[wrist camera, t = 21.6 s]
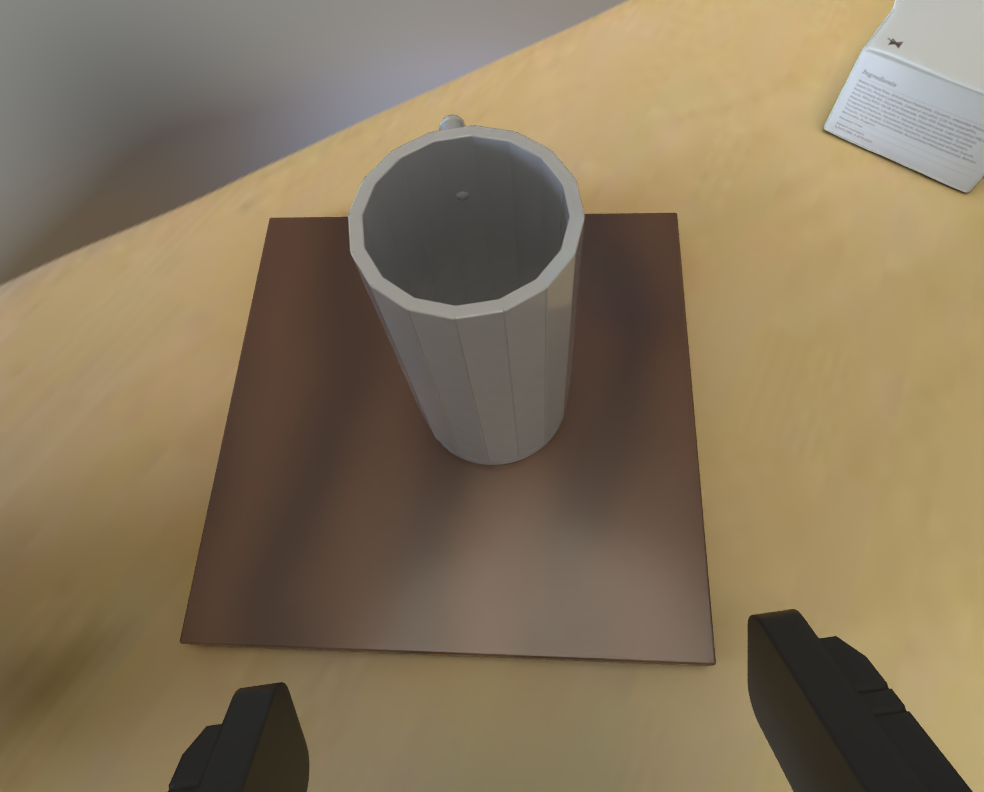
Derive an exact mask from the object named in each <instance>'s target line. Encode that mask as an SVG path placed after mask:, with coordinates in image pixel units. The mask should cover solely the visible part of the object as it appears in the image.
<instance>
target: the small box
mask: <svg viewBox="0 0 984 792" xmlns="http://www.w3.org/2000/svg"><path fill="white" fill-rule="evenodd" d="M824 129H825V130H826V131H828V132H830V133H832V134H834V135H836V136H838V137H841V138H843V139H845V140H847V141H849V142H851V143H854V144H856V145H858V146H861V147H863V148H865V149H867V150H869V151H872V152H874V153H876V154H879V155H881V156H884V157H886V158H888V159H890V160H893V161H895V162H897V163H899V164H901V165H903V166H906V167H908V168H910V169H913V170H915V171H917V172H920V173H922V174H924V175H926V176H928V177H931V178H933V179H935V180H937V181H939V182H941V183H944V184H946V185H948V186H950V187H952V188H955V189H957V190H960V191H962V192H965V193H968V192H970V191H971V190H972V189H973V188H974V187H975V186H976V185H977V184H978V183H979V182H980V181H981V179H982V178H983V177H984V0H895V2H894V7H893V9H892V11H891V12H890V13H889V15H888V16H887V17H886V19H885V20H884V21H883V23H882V24H881V25H880V26H879V28H878V29H877V30H876V32H875V33H874V34H873V36H872V37H871V38H870V40H869V41H868V43H867V44H866V45H865V46H864V48H863V50H862V51H861V53H860V55H859V57H858V59H857V61H856V63H855V65H854V67H853V69H852V71H851V73H850V75H849V77H848V79H847V81H846V83H845V85H844V87H843V89H842V91H841V93H840V95H839V97H838V99H837V101H836V103H835V105H834V107H833V109H832V111H831V113H830V115H829V117H828V119H827V121H826V123H825V125H824Z"/></svg>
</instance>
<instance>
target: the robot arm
mask: <svg viewBox="0 0 984 792" xmlns="http://www.w3.org/2000/svg"><path fill="white" fill-rule="evenodd" d="M748 690H749V696H750V700H751V704H752V707H753V711H754V713H755V716H756V719H757V721H758V723H759V725H760V727H761V729H762V731H763V733H764V735H765V737H766V739H767V741H768V743H769V745H770V747H771V748H772V750H773V752H774V754H775V756H776V758H777V760H778V762H779V764H780V766H781V768H782V770H783V772H784V774H785V776H786V778H787V780H788V782H789V783H790V785H791V787H792V789H793V791H794V792H972V790H971V789H970V788H969V787H968V785H967V784H966V783H965V781H964V780H963V779H962V778H961V776H960V775H959V774H958V773H957V771H956V770H955V769H954V767H953V766H952V765H951V764H950V762H949V761H948V760H947V759H946V757H945V756H944V755H943V754H942V752H941V751H940V750H939V748H938V747H937V746H936V745H935V743H934V742H933V741H932V740H931V738H930V737H929V736H928V735H927V733H926V732H925V731H924V729H923V728H922V727H921V726H920V724H919V723H918V722H917V721H916V719H915V718H914V717H913V715H912V714H911V713H910V712H909V711H908V712H907V711H906V709H905V705H904V704H903V703H902V702H901V700H900V699H899V698H898V696H897V695H896V694H895V693H894V691H893V690H892V689H889V688H888V685H887V682H886V681H885V680H884V679H883V677H882V676H881V675H880V674H879V672H878V671H877V670H876V669H875V667H874V666H873V665H872V663H871V662H870V661H869V660H868V658H867V657H866V656H864V655H863V654H861V653H860V652H858V651H857V650H856V649H854V648H853V647H851V646H850V645H848V644H847V643H845V642H844V641H842V640H841V639H840V638H838V637H837V636H834V637H827V638H820V639H819V638H818V637H817V635H816V634H815V633H814V631H813V630H812V628H811V627H810V626H809V624H808V623H807V621H806V620H805V619H804V617H803V616H802V615H801V614H800V613H799V612H798V611H797V610H795V609H790V610H784V611H777V612H770V613H763V614H756V615H751V616H750V617H749V619H748ZM308 780H309V755H308V749H307V745H306V741H305V738H304V735H303V732H302V729H301V726H300V723H299V720H298V717H297V714H296V711H295V708H294V705H293V702H292V698H291V695H290V692H289V690H288V687H287V686H286V684H285V683H283V682H280V683H273V684H266V685H259V686H253V687H246V688H240V689H238V690H237V691H236V692H235V694H234V696H233V698H232V700H231V703H230V705H229V708H228V710H227V713H226V715H225V718H224V720H223V723H222V724H218V725H212V726H206V728H205V729H204V730H203V731H202V732H201V734H200V735H199V736H198V737H197V738H196V739H195V741H194V742H193V743H192V744H191V745H190V747H189V748H188V749H187V750H186V751H185V752H184V754H183V755H182V757H181V759H180V762H179V764H178V766H177V768H176V771H175V773H174V775H173V777H172V780H171V782H170V784H169V791H168V792H306V791H307V786H308Z"/></svg>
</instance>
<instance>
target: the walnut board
mask: <svg viewBox="0 0 984 792" xmlns="http://www.w3.org/2000/svg"><path fill="white" fill-rule="evenodd" d="M180 643H181V644H189V645H203V646H227V647H252V648H276V649H301V650H325V651H350V652H374V653H399V654H423V655H448V656H472V657H497V658H521V659H546V660H570V661H595V662H620V663H644V664H669V665H693V666H711V665H715V664H716V660H715V648H714V637H713V625H712V613H711V602H710V590H709V579H708V567H707V555H706V544H705V532H704V520H703V509H702V497H701V486H700V474H699V462H698V451H697V439H696V428H695V416H694V404H693V393H692V381H691V369H690V358H689V346H688V335H687V323H686V311H685V300H684V288H683V277H682V265H681V253H680V242H679V230H678V218H677V213H629V214H585V221H584V232H583V244H582V255H581V266H580V277H579V288H578V299H577V311H576V322H575V333H574V344H573V355H572V367H571V378H570V389H569V396H568V400H567V406H566V412H565V415H564V418H563V421H562V423H561V425H560V427H559V429H558V430H557V432H556V433H555V435H554V436H553V437H552V438H551V440H550V441H549V442H548V443H547V444H546V445H545V446H543V447H542V448H541V449H540V450H538V451H537V452H535V453H534V454H532V455H530V456H528V457H526V458H524V459H522V460H519V461H516V462H513V463H508V464H502V465H484V464H478V463H473V462H470V461H467V460H464V459H462V458H460V457H458V456H456V455H454V454H453V453H451V452H449V451H448V450H447V449H446V448H445V447H443V446H442V445H441V444H440V443H439V442H438V440H437V439H436V438H435V437H434V435H433V434H432V432H431V431H430V429H429V426H428V424H427V423H426V421H425V419H424V417H423V416H422V414H421V411H420V409H419V407H418V405H417V402H416V400H415V398H414V396H413V393H412V391H411V389H410V386H409V384H408V382H407V380H406V377H405V375H404V373H403V371H402V368H401V366H400V364H399V362H398V359H397V357H396V355H395V353H394V350H393V348H392V346H391V344H390V341H389V339H388V337H387V335H386V332H385V330H384V328H383V326H382V323H381V321H380V319H379V317H378V314H377V312H376V310H375V308H374V305H373V303H372V301H371V299H370V296H369V294H368V292H367V289H366V287H365V285H364V283H363V280H362V278H361V276H360V274H359V271H358V269H357V267H356V265H355V262H354V260H353V258H352V256H351V253H350V242H349V225H348V217H304V218H270V220H269V224H268V229H267V234H266V238H265V243H264V248H263V252H262V257H261V262H260V267H259V271H258V276H257V281H256V285H255V290H254V295H253V299H252V304H251V309H250V314H249V318H248V323H247V328H246V332H245V337H244V342H243V346H242V351H241V356H240V361H239V365H238V370H237V375H236V379H235V384H234V389H233V393H232V398H231V403H230V408H229V412H228V417H227V422H226V426H225V431H224V436H223V440H222V445H221V450H220V455H219V459H218V464H217V469H216V473H215V478H214V483H213V487H212V492H211V497H210V502H209V506H208V511H207V516H206V520H205V525H204V530H203V534H202V539H201V544H200V549H199V553H198V558H197V563H196V567H195V572H194V577H193V581H192V586H191V591H190V596H189V600H188V605H187V610H186V614H185V619H184V624H183V628H182V633H181V638H180Z"/></svg>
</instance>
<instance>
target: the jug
mask: <svg viewBox="0 0 984 792" xmlns="http://www.w3.org/2000/svg"><path fill="white" fill-rule="evenodd" d="M584 221H585V214H584V210H583V206H582V201H581V197H580V193H579V189H578V185H577V181H576V179H575V178H574V176H573V175H572V174H571V173H570V172H569V170H568V169H567V168H566V167H565V166H564V165H563V163H562V162H561V161H560V160H559V159H558V157H557V156H556V155H555V154H554V153H553V151H551V150H550V149H548V148H547V147H545V146H543V145H541V144H539V143H537V142H535V141H533V140H531V139H529V138H527V137H525V136H523V135H522V134H520V133H518V132H515V131H510V130H503V129H496V128H489V127H482V126H476V125H474V126H472V125H471V126H466V124H465V122H464V121H463V119H462V118H461V117H459V116H457V115H448V116H446V117H445V118H443V120H442V121H441V123H440V126H439V131H432V132H431V133H430V132H429V133H427V134H425V135H423V136H421V137H419V138H417V139H415V140H413V141H411V142H408V143H406V144H404V145H402V146H400V147H398V148H396V149H394V150H393V151H391V152H390V153H389V154H388V155H387V156H386V157H385V158H384V159H383V160H382V161H381V162H380V163H379V164H378V165H377V166H376V167H375V168H374V169H373V170H372V171H371V172H370V173H369V174H368V175H367V176H366V177H365V178H364V180H363V181H362V183H361V185H360V188H359V190H358V193H357V195H356V197H355V200H354V202H353V204H352V207H351V209H350V211H349V215H348V225H349V242H350V253H351V256H352V258H353V260H354V262H355V265H356V267H357V269H358V271H359V274H360V276H361V278H362V280H363V283H364V285H365V287H366V289H367V292H368V294H369V296H370V299H371V301H372V303H373V305H374V308H375V310H376V312H377V314H378V317H379V319H380V321H381V323H382V326H383V328H384V330H385V332H386V335H387V337H388V339H389V341H390V344H391V346H392V348H393V350H394V353H395V355H396V357H397V359H398V362H399V364H400V366H401V368H402V371H403V373H404V375H405V377H406V380H407V382H408V384H409V386H410V389H411V391H412V393H413V396H414V398H415V400H416V402H417V405H418V407H419V409H420V411H421V414H422V416H423V417H424V419H425V421H426V423H427V424H428V426H429V429H430V431H431V432H432V434H433V435H434V437H435V438H436V439H437V440H438V442H439V443H440V444H441V445H442V446H443V447H445V448H446V449H447V450H448V451H449V452H451V453H453V454H454V455H456V456H458V457H460V458H462V459H464V460H467V461H470V462H473V463H478V464H484V465H502V464H508V463H513V462H516V461H519V460H522V459H524V458H526V457H528V456H530V455H532V454H534V453H535V452H537V451H538V450H540V449H541V448H542V447H543V446H545V445H546V444H547V443H548V442H549V441H550V440H551V438H552V437H553V436H554V435H555V433H556V432H557V430H558V429H559V427H560V425H561V423H562V421H563V418H564V415H565V412H566V406H567V400H568V396H569V389H570V378H571V367H572V355H573V344H574V333H575V322H576V311H577V299H578V288H579V277H580V266H581V255H582V244H583V232H584Z"/></svg>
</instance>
